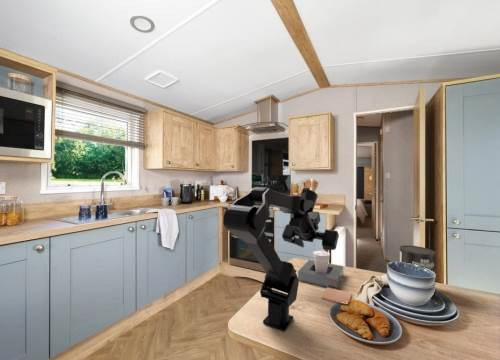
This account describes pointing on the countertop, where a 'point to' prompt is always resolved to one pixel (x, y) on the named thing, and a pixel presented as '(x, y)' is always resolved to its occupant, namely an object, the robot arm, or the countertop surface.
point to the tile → (336, 295)
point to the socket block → (321, 275)
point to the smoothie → (321, 260)
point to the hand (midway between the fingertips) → (315, 248)
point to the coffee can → (418, 256)
